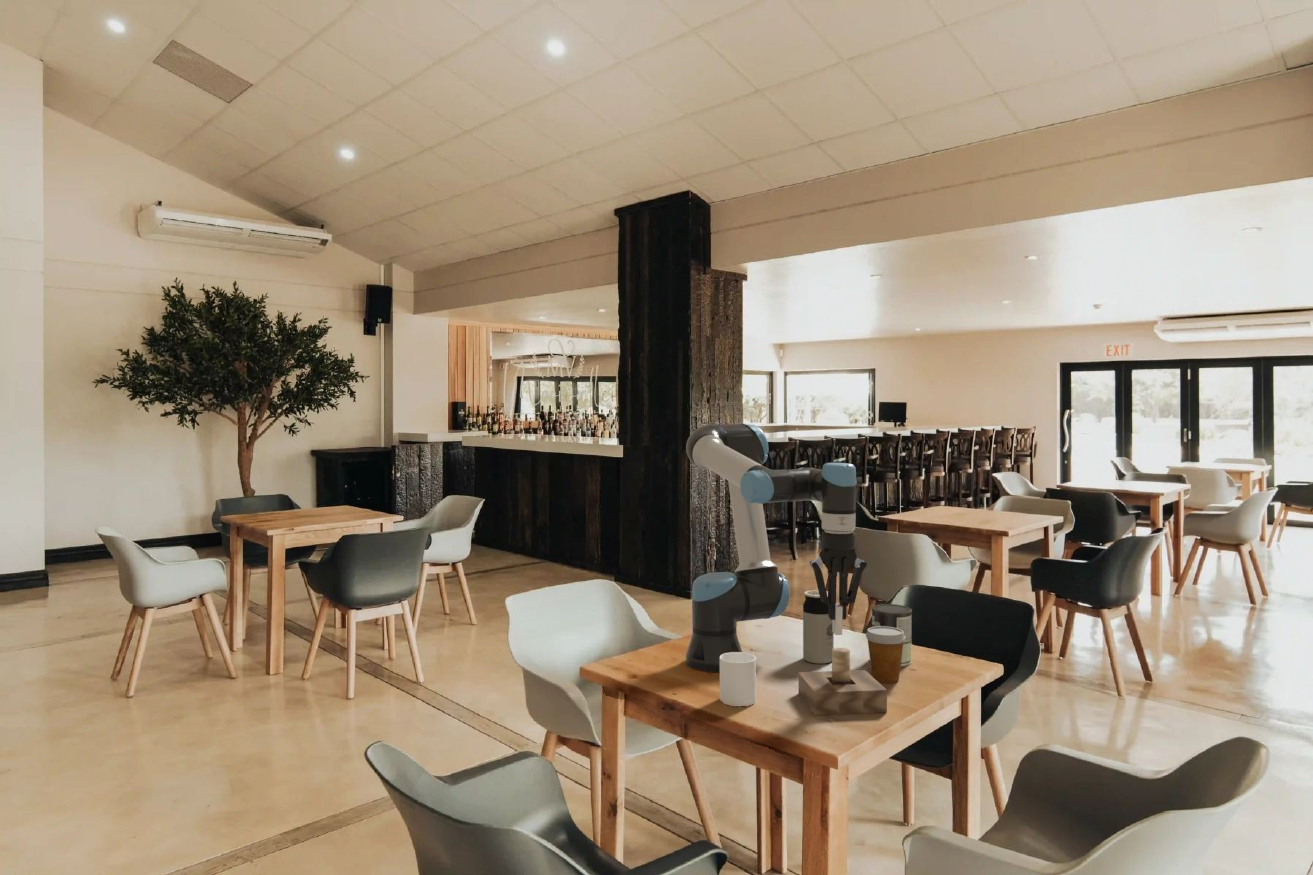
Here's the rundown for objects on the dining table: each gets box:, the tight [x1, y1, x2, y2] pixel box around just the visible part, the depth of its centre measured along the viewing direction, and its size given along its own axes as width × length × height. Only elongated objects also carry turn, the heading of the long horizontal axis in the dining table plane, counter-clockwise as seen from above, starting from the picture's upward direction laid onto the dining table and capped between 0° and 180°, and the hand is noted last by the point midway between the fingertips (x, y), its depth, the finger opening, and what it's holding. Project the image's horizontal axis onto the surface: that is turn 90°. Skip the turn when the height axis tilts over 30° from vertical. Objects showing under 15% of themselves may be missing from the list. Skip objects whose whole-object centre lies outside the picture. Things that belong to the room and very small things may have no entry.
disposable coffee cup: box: [865, 626, 906, 684], centre depth 197 cm, size 10×10×12 cm
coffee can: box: [871, 603, 913, 668], centre depth 211 cm, size 10×10×14 cm
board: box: [797, 669, 888, 716], centre depth 180 cm, size 16×14×5 cm
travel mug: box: [802, 589, 835, 665], centre depth 213 cm, size 8×8×18 cm
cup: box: [719, 651, 757, 707], centre depth 184 cm, size 8×12×10 cm
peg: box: [831, 647, 851, 685], centre depth 180 cm, size 4×4×12 cm
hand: (837, 633), depth 182 cm, fingers closed
